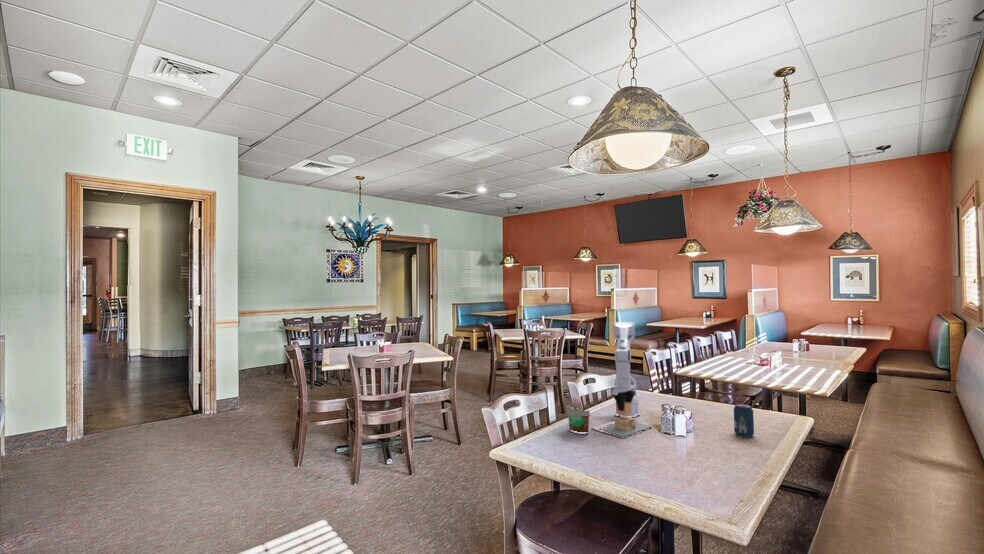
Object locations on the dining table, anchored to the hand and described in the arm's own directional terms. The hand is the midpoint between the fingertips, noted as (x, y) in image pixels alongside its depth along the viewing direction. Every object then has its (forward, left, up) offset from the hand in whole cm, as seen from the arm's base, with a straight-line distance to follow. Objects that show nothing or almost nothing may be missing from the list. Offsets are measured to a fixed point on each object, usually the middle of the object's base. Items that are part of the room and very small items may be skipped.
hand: (624, 409), depth 189 cm
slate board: (0, -2, -9) cm, 9 cm away
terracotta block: (0, 0, -2) cm, 2 cm away
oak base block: (0, 0, -9) cm, 9 cm away
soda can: (-30, +35, -9) cm, 47 cm away
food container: (+18, -12, -9) cm, 23 cm away
